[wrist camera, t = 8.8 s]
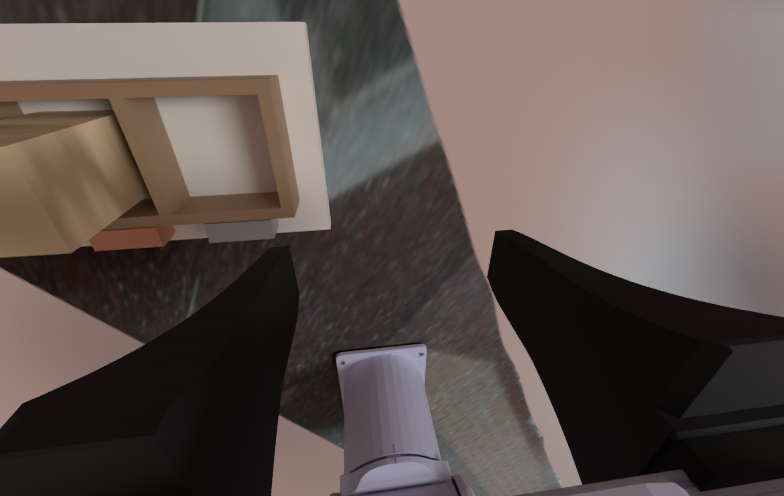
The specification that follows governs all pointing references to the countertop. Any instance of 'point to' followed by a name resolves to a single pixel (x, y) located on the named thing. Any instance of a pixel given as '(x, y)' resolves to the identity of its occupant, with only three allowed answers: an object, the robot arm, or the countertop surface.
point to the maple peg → (63, 180)
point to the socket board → (187, 120)
